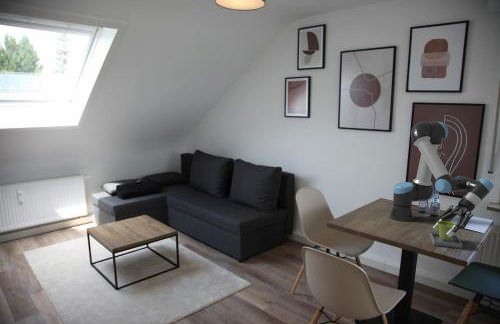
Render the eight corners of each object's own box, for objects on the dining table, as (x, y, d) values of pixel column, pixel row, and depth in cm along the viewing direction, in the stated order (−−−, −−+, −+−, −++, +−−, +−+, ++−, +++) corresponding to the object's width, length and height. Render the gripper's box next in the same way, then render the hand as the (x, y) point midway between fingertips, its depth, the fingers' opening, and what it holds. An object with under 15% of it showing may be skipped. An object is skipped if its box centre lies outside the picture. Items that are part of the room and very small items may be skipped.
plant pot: (432, 235, 192) (433, 221, 190) (448, 235, 192) (449, 220, 191) (442, 242, 183) (444, 226, 181) (459, 241, 183) (461, 226, 182)
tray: (433, 245, 184) (434, 241, 183) (429, 236, 196) (430, 232, 196) (462, 248, 180) (462, 244, 179) (456, 239, 192) (456, 235, 191)
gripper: (490, 212, 177) (460, 244, 177) (457, 201, 198) (430, 229, 198) (482, 203, 175) (452, 235, 175) (450, 193, 196) (423, 221, 196)
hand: (441, 232), depth 186 cm, fingers closed on plant pot, 9 cm apart
